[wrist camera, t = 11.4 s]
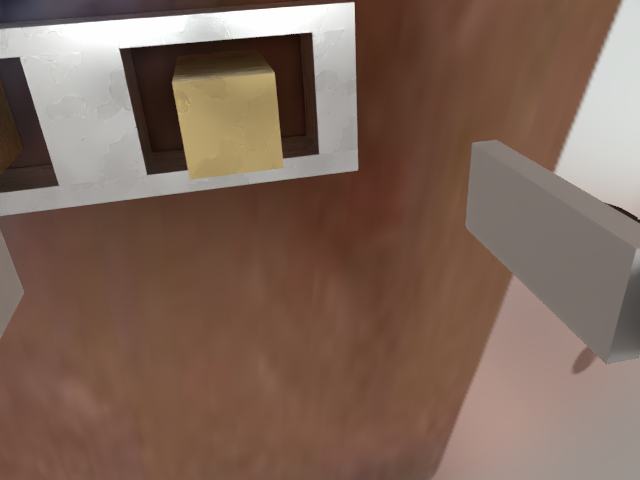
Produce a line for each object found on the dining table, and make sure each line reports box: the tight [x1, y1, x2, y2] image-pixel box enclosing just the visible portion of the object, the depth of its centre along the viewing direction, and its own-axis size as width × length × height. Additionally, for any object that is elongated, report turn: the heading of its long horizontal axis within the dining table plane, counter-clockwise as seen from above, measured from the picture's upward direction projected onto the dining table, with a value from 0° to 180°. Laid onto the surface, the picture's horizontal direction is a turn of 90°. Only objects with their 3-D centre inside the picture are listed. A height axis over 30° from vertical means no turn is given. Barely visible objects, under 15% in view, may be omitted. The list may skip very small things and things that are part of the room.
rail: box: [0, 0, 358, 216], centre depth 28 cm, size 9×28×4 cm, turn 94°
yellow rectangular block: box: [172, 49, 284, 180], centre depth 28 cm, size 4×4×8 cm
